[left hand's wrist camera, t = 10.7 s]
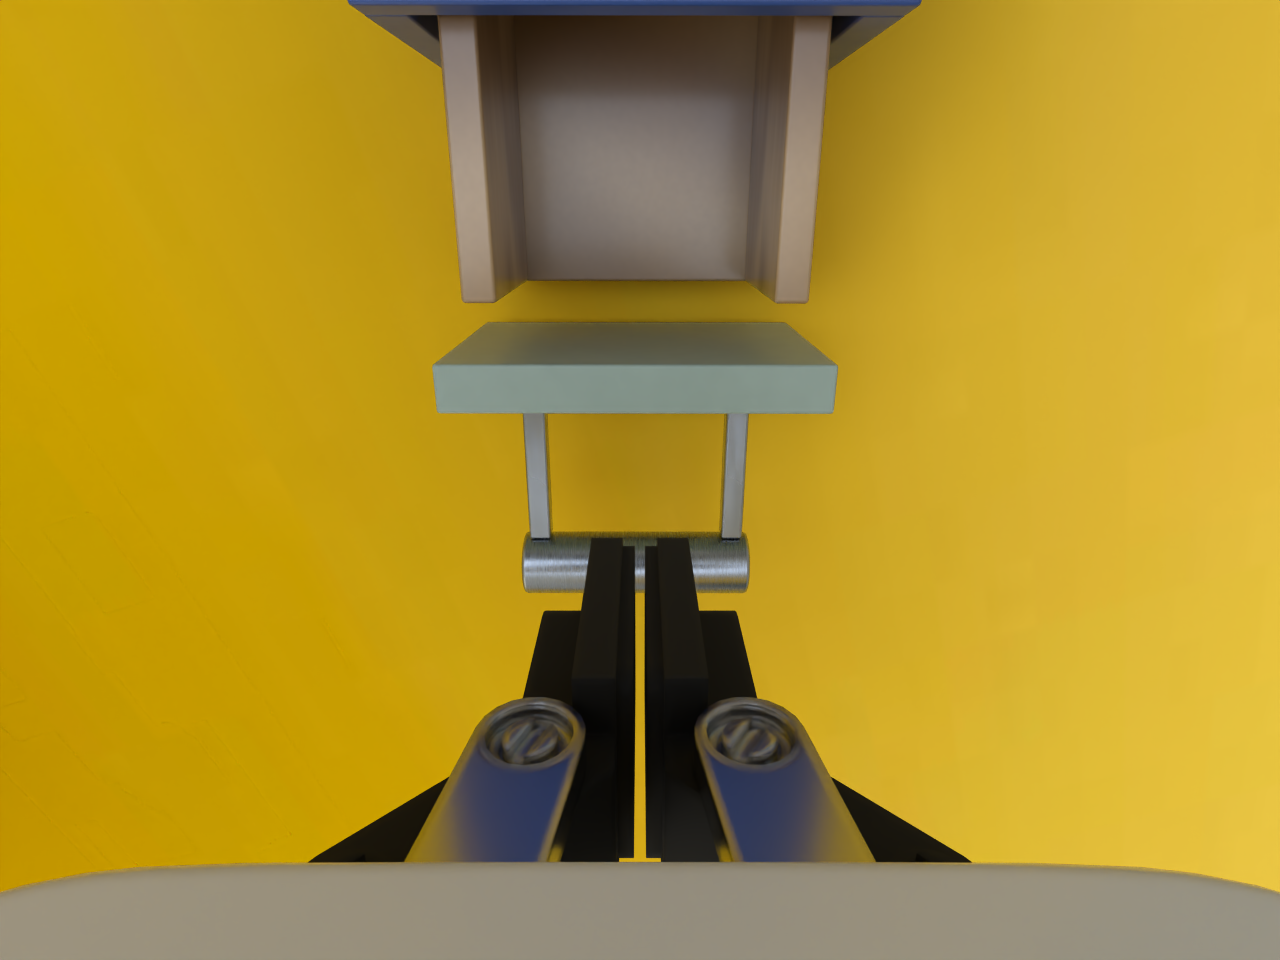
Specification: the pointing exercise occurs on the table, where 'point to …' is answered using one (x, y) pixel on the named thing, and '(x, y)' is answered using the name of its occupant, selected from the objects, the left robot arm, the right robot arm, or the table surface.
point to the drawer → (635, 235)
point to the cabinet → (856, 4)
